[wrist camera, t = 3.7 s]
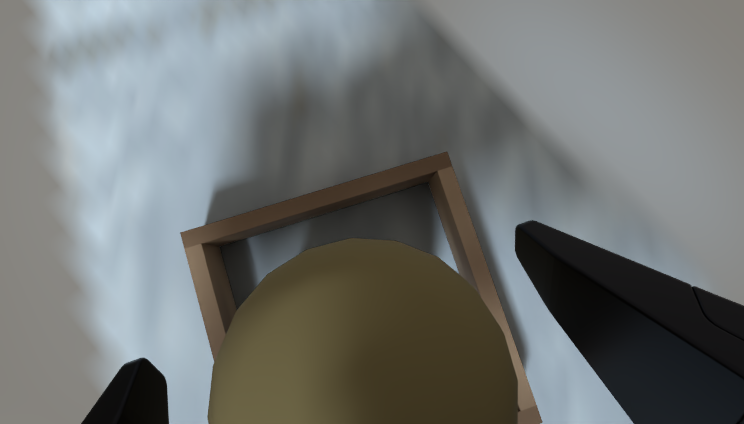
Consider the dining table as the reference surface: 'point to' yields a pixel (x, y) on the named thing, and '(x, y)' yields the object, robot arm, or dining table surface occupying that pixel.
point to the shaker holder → (434, 170)
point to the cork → (364, 344)
